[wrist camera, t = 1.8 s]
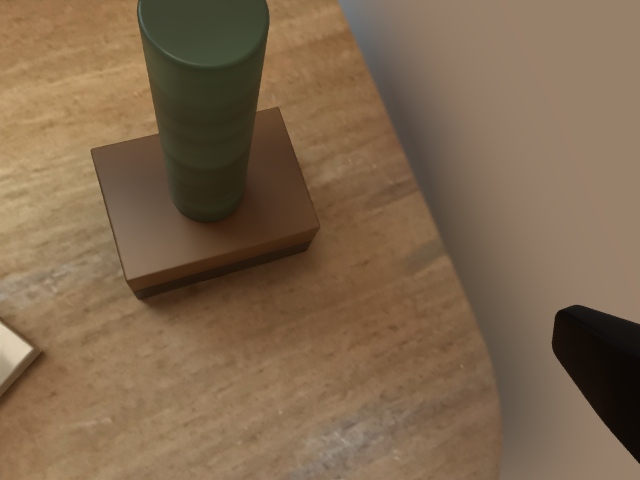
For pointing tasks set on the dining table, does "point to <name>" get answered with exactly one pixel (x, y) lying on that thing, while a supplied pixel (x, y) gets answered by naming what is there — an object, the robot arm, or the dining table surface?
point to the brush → (204, 154)
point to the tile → (14, 355)
